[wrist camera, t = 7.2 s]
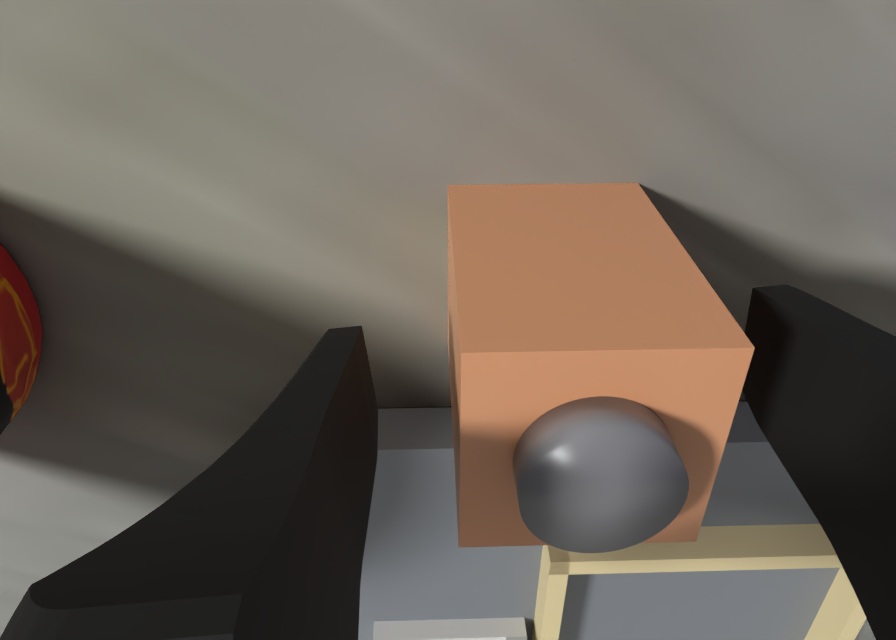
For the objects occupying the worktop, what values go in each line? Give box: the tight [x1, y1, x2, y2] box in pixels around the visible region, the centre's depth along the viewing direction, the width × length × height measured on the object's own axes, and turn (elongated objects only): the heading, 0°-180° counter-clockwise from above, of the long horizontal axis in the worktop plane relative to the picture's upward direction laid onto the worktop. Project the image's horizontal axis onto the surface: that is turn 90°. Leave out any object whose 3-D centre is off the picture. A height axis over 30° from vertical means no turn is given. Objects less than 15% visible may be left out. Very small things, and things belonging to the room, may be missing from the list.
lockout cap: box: [448, 183, 755, 553], centre depth 12 cm, size 4×4×7 cm
